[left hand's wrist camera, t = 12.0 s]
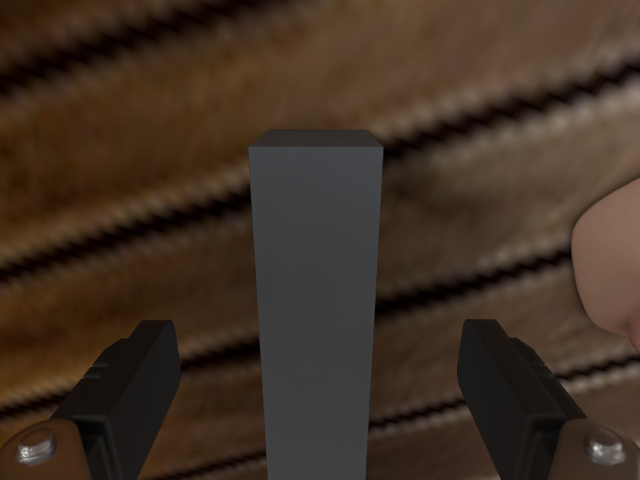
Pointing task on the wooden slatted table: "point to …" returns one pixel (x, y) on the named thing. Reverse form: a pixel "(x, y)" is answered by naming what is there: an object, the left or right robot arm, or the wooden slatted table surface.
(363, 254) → the bar
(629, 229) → the anatomical model
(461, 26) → the wooden slatted table surface
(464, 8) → the wooden slatted table surface
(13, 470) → the left robot arm
